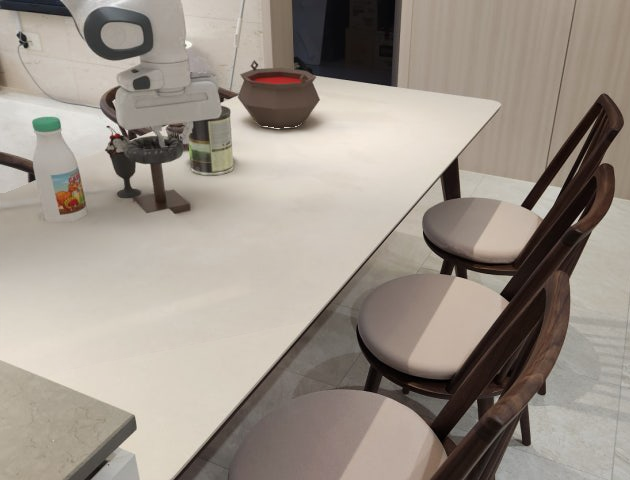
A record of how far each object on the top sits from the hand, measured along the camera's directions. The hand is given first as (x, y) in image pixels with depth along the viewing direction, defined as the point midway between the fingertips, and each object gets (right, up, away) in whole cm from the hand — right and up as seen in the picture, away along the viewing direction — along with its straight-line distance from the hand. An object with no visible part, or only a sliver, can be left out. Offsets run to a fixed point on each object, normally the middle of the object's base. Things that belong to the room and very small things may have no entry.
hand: (174, 144), depth 128 cm
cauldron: (+12, +20, +61) cm, 66 cm away
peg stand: (-4, -12, +4) cm, 13 cm away
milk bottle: (-20, -16, -3) cm, 26 cm away
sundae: (-13, -9, +10) cm, 18 cm away
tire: (-3, -1, -2) cm, 4 cm away
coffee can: (+1, 0, +25) cm, 25 cm away
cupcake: (-9, +8, +39) cm, 41 cm away
